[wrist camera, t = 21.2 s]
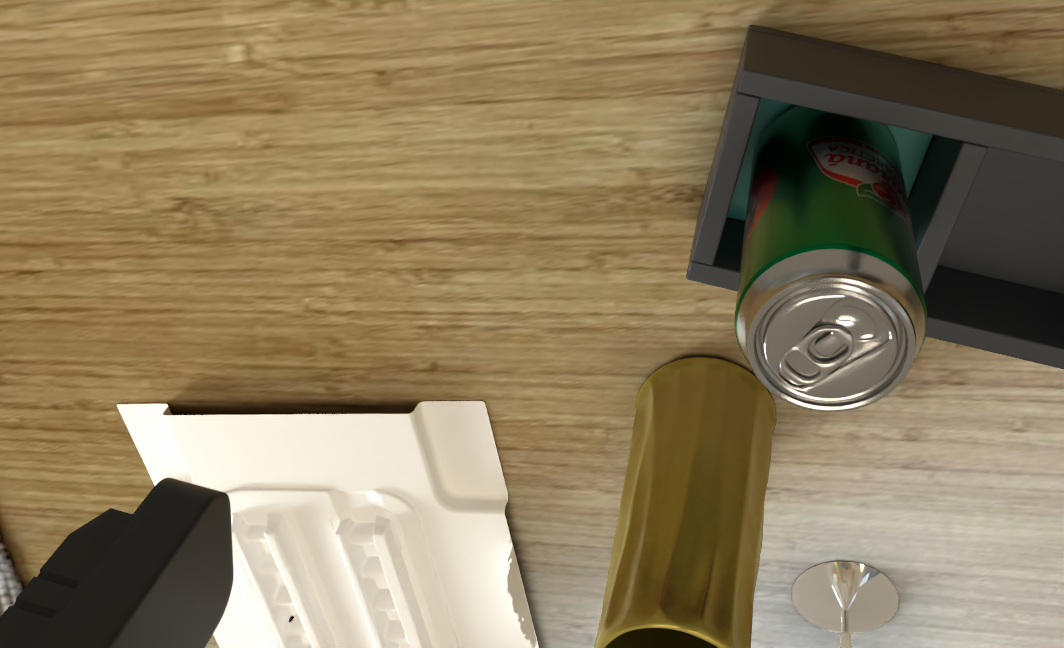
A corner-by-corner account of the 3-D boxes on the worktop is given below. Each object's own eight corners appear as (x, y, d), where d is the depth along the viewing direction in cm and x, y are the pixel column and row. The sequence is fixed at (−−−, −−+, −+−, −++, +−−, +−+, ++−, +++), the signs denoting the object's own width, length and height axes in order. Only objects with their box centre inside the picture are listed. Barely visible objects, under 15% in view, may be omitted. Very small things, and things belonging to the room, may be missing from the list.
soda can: (930, 157, 36) (975, 350, 26) (821, 248, 38) (826, 453, 29) (826, 63, 35) (833, 227, 25) (722, 163, 38) (692, 346, 28)
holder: (749, 23, 35) (742, 68, 32) (1195, 118, 34) (1243, 176, 30) (696, 220, 40) (685, 279, 36) (1087, 311, 38) (1117, 383, 35)
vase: (663, 474, 47) (616, 742, 36) (616, 370, 45) (549, 624, 33) (793, 451, 45) (788, 731, 33) (752, 340, 42) (731, 603, 31)
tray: (278, 743, 67) (253, 793, 64) (124, 392, 54) (82, 434, 51) (579, 770, 62) (567, 826, 58) (490, 385, 48) (468, 432, 45)
